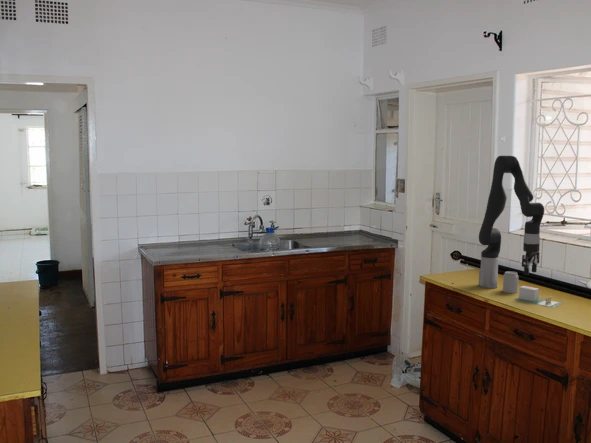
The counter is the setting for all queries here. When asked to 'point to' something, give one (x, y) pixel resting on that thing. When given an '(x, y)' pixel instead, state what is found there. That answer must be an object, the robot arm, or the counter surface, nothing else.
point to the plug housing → (528, 293)
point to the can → (510, 282)
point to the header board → (542, 302)
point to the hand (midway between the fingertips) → (530, 273)
